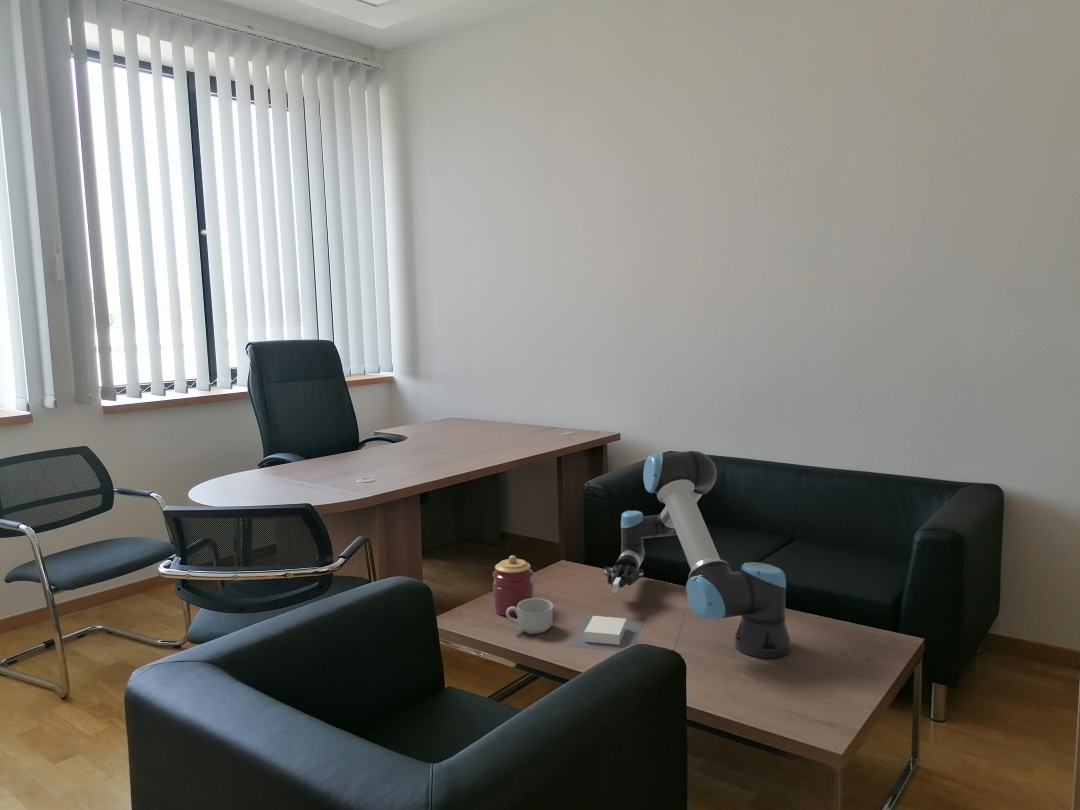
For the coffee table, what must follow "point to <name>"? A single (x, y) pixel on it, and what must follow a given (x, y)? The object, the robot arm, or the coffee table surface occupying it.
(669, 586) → the coffee table surface
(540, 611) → the teacup
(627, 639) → the mat
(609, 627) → the tile
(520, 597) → the canister
